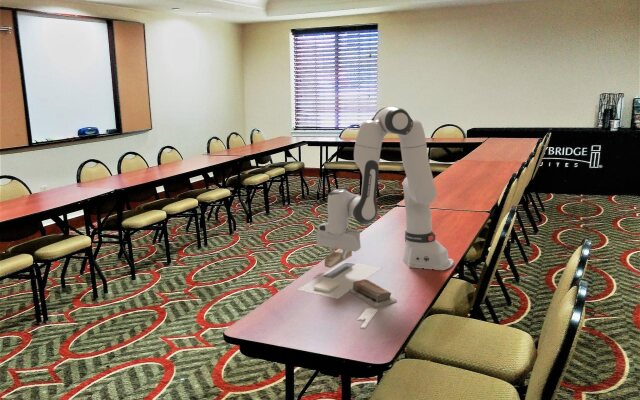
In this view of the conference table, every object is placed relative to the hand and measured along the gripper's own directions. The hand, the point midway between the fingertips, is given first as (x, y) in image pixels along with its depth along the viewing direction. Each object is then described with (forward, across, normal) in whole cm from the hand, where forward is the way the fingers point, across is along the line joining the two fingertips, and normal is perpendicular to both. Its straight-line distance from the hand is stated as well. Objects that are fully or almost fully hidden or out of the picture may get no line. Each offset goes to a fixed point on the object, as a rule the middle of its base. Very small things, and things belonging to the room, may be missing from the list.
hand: (338, 257), depth 226 cm
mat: (+6, -6, +8) cm, 11 cm away
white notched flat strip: (+7, -32, +36) cm, 48 cm away
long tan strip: (+2, 0, 0) cm, 2 cm away
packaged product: (+7, -26, +18) cm, 32 cm away
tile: (+5, -6, +16) cm, 17 cm away
